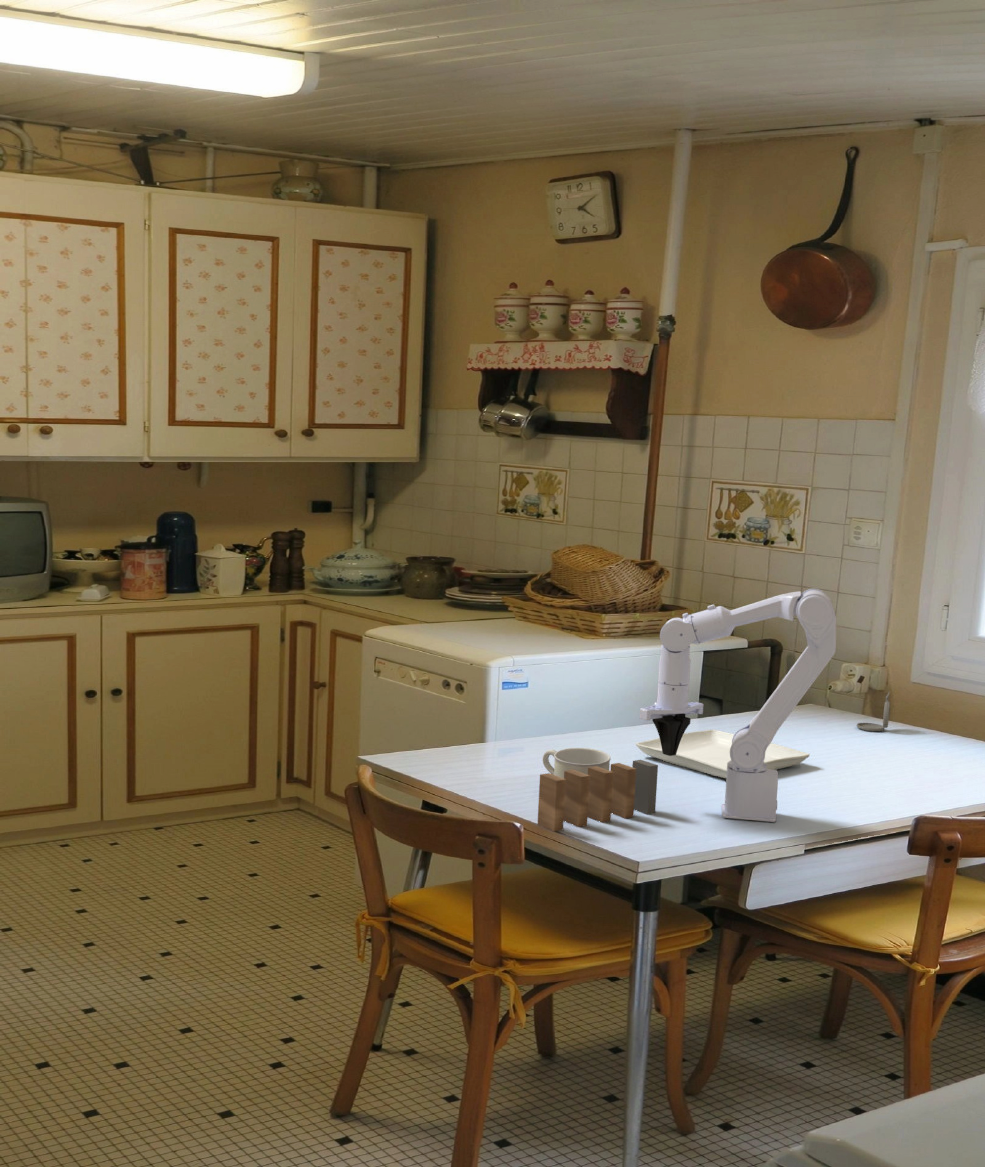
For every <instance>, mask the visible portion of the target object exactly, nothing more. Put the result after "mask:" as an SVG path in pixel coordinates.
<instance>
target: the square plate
mask: <svg viewBox="0 0 985 1167" xmlns="http://www.w3.org/2000/svg"><path fill="white" fill-rule="evenodd" d="M734 734H735V733H730V732H726V731H721V730H717V729H707V730H698V731H692V732H684V734H683V736H682V738H681V741H680V744H679V747H678V750H677V753H676V755H674V756H668V755H665V754H663V752H662V746H661V741H660V737H658V738H653V739H648V740H646V741H645V740H644V741H640V742H639V741H638V742H636V743H635V746H636V747H637V748H638V749H639V750H640V751H641V752H642V753H644V754H645V755H647V756H649V757H652V758H656V759H659V760H660V761H662V760H663V762H664V761H666V762H665V763H667V762H670V763H669V764H671V763H672V765H674V764H676V766H678V765H680V766H679V767H681V766H683V767H682V768H685V767H687V768H686V769H688V768H691V769H690V770H692V769H694V770H693V771H695V770H698V771H697V772H699V771H700V772H699V773H702V772H704V773H703V774H706V773H707V774H706V775H709V774H711V775H710V776H713V775H714V777H717V776H718V777H717V778H721V779H722V778H723V779H726V777H727V763H728V762H729V761H731V758H730V748H731V745H732V739H733V736H734ZM810 754H811V753H807V752H803V751H800V750H797V749H794V748H790V747H787V746H783V745H779V744H778V743H777V744H776V743H774V742H773V743H772V742H771V743H770V744H769V746H768V747H767V749H766V752H765V759H764V763H765V764H766V765H767V769H771V770H777V771H778V770H781V769H784V768H789V767H793V766H797V765H799V764H801V763H803V762H804V761H805V760H806V759H808V758H809V757H810Z"/></svg>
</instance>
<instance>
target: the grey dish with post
mask: <svg viewBox="0 0 985 1167" xmlns="http://www.w3.org/2000/svg"><path fill="white" fill-rule="evenodd" d="M890 693H891V691H888V694H886V696H885V702H884V708H883V717H882V718H883V719H882V720H883V721H882V724H880V723H879V724H878V723H874V722H858V723H856V728H858V729H860V730H863V731H868V732H882V731H885V729H886V728H888V727H889V721H890V720H889V718H890V708H891V706H890V705H891V702H890V701H889V699H890V697H889V696H890Z"/></svg>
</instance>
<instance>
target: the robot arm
mask: <svg viewBox="0 0 985 1167" xmlns="http://www.w3.org/2000/svg"><path fill="white" fill-rule="evenodd" d="M681 615H682V618H681V617H673V618H670V619H669V620H667V621H666V622H665V624H664V625H663V626H662V627H661V630H660V632H659V639H660V643H661V647H660V649H659V650H660V651H659V652H660V657H659V662H658V663H659V664H658V679H657V681H658V683H657V696H656V697H657V698H656V701H655V702H654V704H653V705H650V706H647V707H641V708H640V709H639V719H640V720H643V721H647V722H648V721H651V720H652V723H653V724H654V726H655V728H656V731H657V734H658V738H660V741H661V746H662V752H663V754H665V755H668V756H674V755H676V753H677V750H678V747H679V744H680V741H681V738H682V736H683V734H684V733H686V730H687V729H688V727H689V726H690V724H691V718H690V717H687V715H694V714H697V715H703V713H704V703H702V702H698V701H692V702H689V693H690V692H689V690H690V675H691V657H690V656H691V644H694V645H696V646H697V645H701V644H704V643H707V642H708V643H709V642H711V641H715V640H716V641H717V640H719V639H723V638H727V637H730V636H731V635H732V633H733V631H734V629H735V628H736V627H740V626H744V625H748V624H753V623H756V622H761V621H766V620H768V619H773V618H781V619H784V620H787V621H791V622H794V618H795V616H796V618H797V620H798V621H799V623H800V625H801V626H802V628H803V630H804V633H805V634H804V635H805V638H806V642H807V643H806V644H807V646H806V648H805V649H804V650H803V651H802V653H801V654H800V655H799V657H798V658H797V660H796V661H795V663H794V664H793V665H792V666H791V667H790V669H789V671H787V674H785V676H784V677H783V678H782V679H781V681H780V682H779V684H778V685H777V687H776V688H775V690H774V691H773V692H772V694H771V695H770V696H769V698H768V699H767V700H766V702H765V703H764V704H763V706H762V707H761V708H760V710H759V711H758V712H757V713H756V715H754V717H753V718H752V719H751V720H750V722H749V723H748V724H747V725H745V726H744V727H742V728H739V729H738V730H737V731H736V732H735V733H733V734H734V736H733V739H732V745H731V748H730V758H731V761H729V762H728V763H727V777H726V778H725V780H726V781H725V795H724V803H722V804H721V816H722V818H724V819H736V820H745V821H746V820H748V821H757V822H769V823H770V822H771V823H775V822H776V820H777V819H776V818H777V817H776V814H777V810H778V786H779V785H778V783H779V782H778V781H779V773H778V769H777V770H771V769H767V765H766V764H765V763H764V759H765V752H766V749H767V747H768V746H769V744H770V743H772V741H773V740H774V737H775V736H776V734H777V732H778V731H779V730H780V729H781V726H782V725H783V724H784V722H785V721H786V720H787V719H788V718H789V716H790V714H791V713H792V712H793V711H794V709H795V708H796V707H797V705H798V704H799V703H800V701H801V700H802V698H803V697H804V696H805V694H806V693H807V692H808V691H809V689H810V688H811V686H813V683H814V682H815V681H816V680H817V678H818V677H819V676H820V675H821V673H822V671H823V670H824V669H825V667H827V665H828V663H830V661H831V660H832V658H833V657H834V656H835V653H836V649H837V616H836V612H835V610H834V607H833V602H832V600H831V598H830V596H829V595H828V594H827V593H826V592H825V591H823V590H821V589H818V588H809V589H807V590H805V591H803V592H802V591H792V592H787V593H782V594H779V595H775V596H771V597H769V598H765V599H762V600H759V601H757V602H756V601H755V602H753V603H750V604H747V605H744V606H740V607H737V608H734V609H728V608H727V607H724V606H723V605H718V606H716V605H715V604H710V605H707V609H705V610H702V611H697V612H695V613H694V612H693V613H690V614H689V613H688V612H685V613H683V614H681Z"/></svg>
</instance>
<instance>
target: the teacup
mask: <svg viewBox="0 0 985 1167" xmlns="http://www.w3.org/2000/svg"><path fill="white" fill-rule="evenodd" d="M550 756H552V757H553V758H554V764H553V765H554V766H553V765H552V764H551V762H550V758H549V757H550ZM610 762H611V756H610V754H608V753H607V752H605V751H602V750H599V749H594V748H587V747H572V748H571V747H570V748H563V749H561V750H558V751H557V750H555V749H548V750H545V752H544V754H543V755H542V764H543V766H544V768H545V769H546V771H547V772H548V773H550V774H552V775H555V776H558V777H560V778H563V779H564V771H567V770H575V771H578V772H581V773H584V774H586V775H588V767H594V766H597V767H600V768H603V769H606V770H609V771H610V766H611V764H610Z"/></svg>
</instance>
